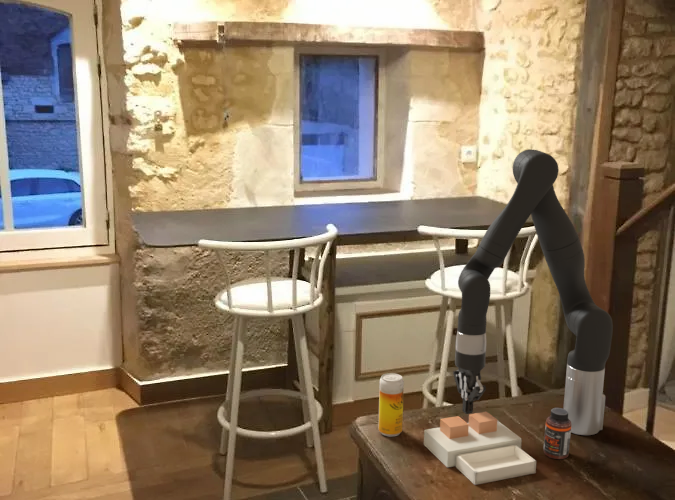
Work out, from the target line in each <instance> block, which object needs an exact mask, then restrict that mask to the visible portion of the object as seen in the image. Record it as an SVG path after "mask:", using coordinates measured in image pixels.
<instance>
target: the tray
mask: <svg viewBox="0 0 675 500" xmlns="http://www.w3.org/2000/svg"><path fill="white" fill-rule="evenodd" d="M455 468H456V469H457V470H458V471H459V472H461V474H462V475H464V477H466V479H468V480H469V481H470V482H471V483H472V484H473V485H474V486H477V485H482V484H487V483H491V482H496V481H501V480H502V481H503V480H506V479H512V478H517V477H522V476H528V475H533V474H536V473H537V470H536V469H537V460H536V459H535V458H533V457H532V456H530V455H529V454H528V452H526V451H524V449H522V448H521V449H520V448H519V447H518V446H517V445H511V446H505V447H500V448H494V449H489V450H483V451H477V452H472V453H466V454H461V455H456V466H455Z"/></svg>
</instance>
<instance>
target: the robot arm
mask: <svg viewBox="0 0 675 500" xmlns="http://www.w3.org/2000/svg"><path fill="white" fill-rule="evenodd" d="M559 171H560V170H559V165H558V162H557V160H556V159H555V158H554V156H552V155H550V154H548V153H547V152H544V151H541V150H538V149H525V150H522V151H521V152H519V153H518V154H517V155H516V157H515V159H514V161H513V164H512V174H513V175H512V176H513V177H514V179H515V182H516V188H515V189H514V192H513V194H512V196H511V198H510V199H509V201H508V202H507V204H506V206H505V207H504V208H503V209H502V210H501V212H500V213H499V214H498V215H497V216H496V217H495V219H494V220H493V221H492V222H491V224H490V225H489V227H488V228H487V230H486V232H485V233H484V235H483V236H482V239H481V241H480V243H479V245H478V246H477V249H476V251H475V253H474V254H473V255H472V256H471V257H470V259H469V260H468V262H467V263H466V264H465V265H464V267H463V269H461V272H460V274H459V276H458V281H457V285H458V288H459V291H460V292H461V307H460V309H459V311H458V315H457V316H458V317H457V332H456V338H455V351H454V352H455V354H454V355H455V356H454V364H455V367H456V368H458V369H457V370H453V371H452V374H453V377H454V382H455V385H456V389H457V392H458V393H459V394H461V395H460V397H461V398H462V409H461V411H462V412H463V413H464V414H466V415H467V414H468V415H469V414H473V411H474V401H479V400H480V398H481V397H482V396H483V394H484V393H485V391H486V390H487V386H486V385H483V384H482V383H481V380H482V375H481V371H482V370H483V369H484V368H485V366H486V353H487V315H488V314H487V313H488V309H489V305H490V299H491V284H490V281H489V278H490V277H491V275H492V274H493V272H494V270H495V269H498V268H499V267H500V266H501V265H502V264H503V263H504V261H505V259H506V257H507V256H508V254H509V252H510V249H512V246H513V244H514V243H515V241H516V238H517V237H518V236H519V234H520V232H521V230H522V228H523V227H524V226H525V224H526V222H527V221H528V219H529V217H530V216H531V219H532V223H533V226H534V229H535V232H536V236H537V239H538V243H539V245H540V248H541V250H542V254H543V256H544V259H545V262H546V264H547V266H548V269H549V271H550V275H551V277H552V280H553V282H554V284H555V286H556V289H557V291H558V295H559V298H560V302H561V305H562V307H561V308H562V311H563V316H564V320H565V322H566V326H567V328H568V329H569V331H570V332H571V333H572V334H573V335H575V336H576V337H575V338H576V339H575V345H574V346H575V347H574V349H573V350H571V351H569V353H568V355H567V359H566V360H567V361H566V374H565V386H564V399H563V409H565V410H567V411H568V419H569V420H570V421H571V433H572V434H575V435H581V436H591V435H592V436H593V435H595V434H598V433H599V432H600V431H603V426H604V415H605V407H606V406H605V405H606V395H605V394H604V392H603V391H604V382H605V381H604V380H605V371H606V363H607V361H608V359H609V357H610V354H611V353H610V352H611V346H612V340H613V331H614V330H613V328H614V325H613V319H612V316H611V315H610V314H609V313H608V311H606V310H605V309H603V308H601V307H600V306H598V305H596V302H595V301H594V300H593V298H592V296H591V293H590V291H589V289H588V286H587V282H586V278H585V264H586V263H585V254H584V249H583V246H582V243H581V239H580V238H579V235H578V232H577V230H576V228H575V225H574V224H573V222H572V220H571V219H570V217H569V215H568V214H567V212H566V211H565V209H564V208H563V206H562V204H561V203H560V201H559V199H558V197H557V194H556V192H555V188H554V184H555V182H556V181H557V178H558V176H559Z"/></svg>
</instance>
